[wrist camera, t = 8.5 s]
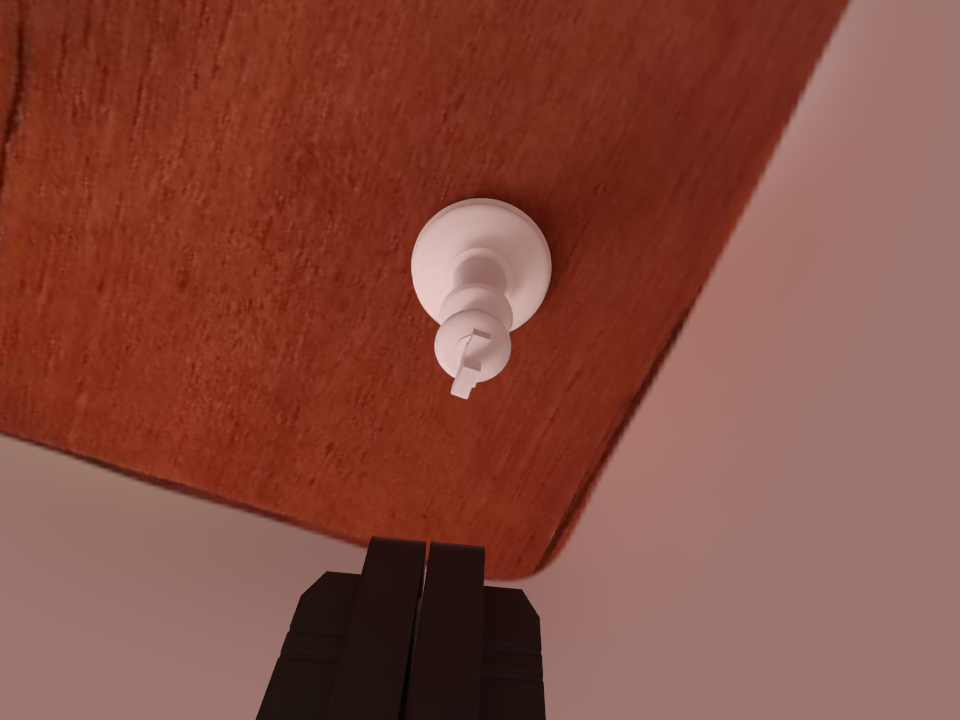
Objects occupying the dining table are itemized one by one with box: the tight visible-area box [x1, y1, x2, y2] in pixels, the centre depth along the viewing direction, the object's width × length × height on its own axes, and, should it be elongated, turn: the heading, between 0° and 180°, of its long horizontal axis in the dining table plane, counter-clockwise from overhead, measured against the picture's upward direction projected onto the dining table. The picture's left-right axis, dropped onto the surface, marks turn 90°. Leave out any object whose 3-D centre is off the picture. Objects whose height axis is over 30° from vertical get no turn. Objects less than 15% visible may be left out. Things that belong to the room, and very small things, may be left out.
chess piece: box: [411, 198, 551, 399], centre depth 24 cm, size 5×5×10 cm
